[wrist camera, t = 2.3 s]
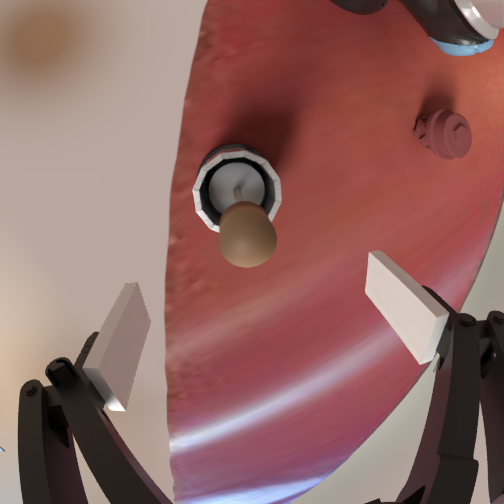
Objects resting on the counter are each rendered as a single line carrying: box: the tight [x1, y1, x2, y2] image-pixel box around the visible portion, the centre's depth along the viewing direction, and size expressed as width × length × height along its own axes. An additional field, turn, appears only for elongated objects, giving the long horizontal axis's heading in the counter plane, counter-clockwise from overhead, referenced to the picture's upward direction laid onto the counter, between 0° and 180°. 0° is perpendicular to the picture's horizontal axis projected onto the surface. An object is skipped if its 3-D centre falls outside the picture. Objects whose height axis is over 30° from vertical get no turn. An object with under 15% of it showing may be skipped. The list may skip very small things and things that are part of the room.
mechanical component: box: [413, 109, 472, 160], centre depth 41 cm, size 12×10×10 cm
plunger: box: [209, 163, 277, 267], centre depth 31 cm, size 8×8×21 cm
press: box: [193, 144, 282, 232], centre depth 43 cm, size 16×13×12 cm
